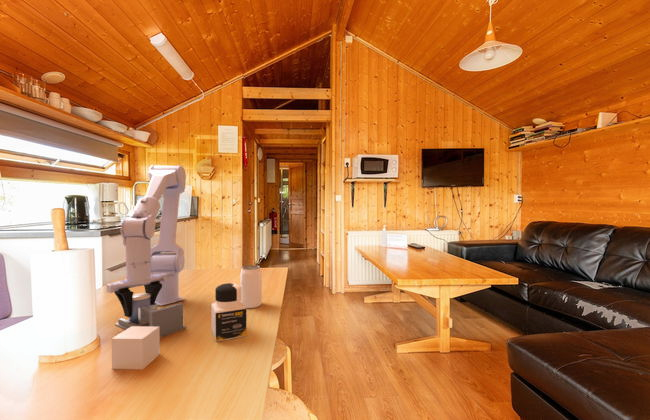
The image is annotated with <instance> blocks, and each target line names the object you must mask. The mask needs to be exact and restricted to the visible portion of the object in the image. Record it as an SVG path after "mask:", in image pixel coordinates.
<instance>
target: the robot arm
mask: <svg viewBox="0 0 650 420" xmlns="http://www.w3.org/2000/svg"><path fill="white" fill-rule="evenodd" d="M147 174H148V179H149V180H148V181H149V185H148V187H147V190H146V194H145V196H142V197H140V198H139V199H138V201H137V203H136V205H135V206H134V209H133V211H132V213H131V215H130V216H129V217H127V218H126V219H124V220H123V221H122V223H121V226H120V228H119V229H120V230H119V231H120V235H121V238H122V241H123V242H122V243H123V247H125V279H122V280H119V281H115V282H112V283H107V284H106V292H107V293H109V294H112V293H113V294H115V296H116V298H117V299H118V300H119V303H120V304H121V307H122V309H123V313H124V317H126V318H129V317H131V315H132V297H133V295H134V291H131V289H133V288H137V287H141V286H143V287H144V293H150V294H151V297H150V303H151V304H154V303H157V304H158V306H161V307H164V306H167V305H170V304H173V303H177V302H182V301H184V300H185V297H182V296H180V292H179V291H180V290H179V285H180V284H179V282H180V281H179V280H180V279H179V273H181V272H182V271H183V270H184V267H185V255H184V253H185V252H184V249H183V248H182V247H181V246H179V244H177V243H176V241H177V227H178V216H179V206H180V205H179V204H180V196H181V194H183V193H185V189H186V182H187V174H186V169H185V168H184V166H182V165H181V164H180V165H161V164H160V165H157V164H151V165H150V167H149V169H148V172H147ZM161 198H162V204H160V202H159V201H160V200H161ZM161 205H162V206H161ZM160 208H161V217H160V226H159V227H160V228H159V235H158V236H159V238H158V243H156V244H155V245H154V246H151V244H152V242H151V241H152V240H151V239H152V238H153V237H154V235H155V232H156V231H155V230H156V224H157V222H156V218H157V216H158V213H159V212H160Z"/></svg>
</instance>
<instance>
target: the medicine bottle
mask: <svg viewBox="0 0 650 420" xmlns="http://www.w3.org/2000/svg"><path fill="white" fill-rule="evenodd" d="M214 289H215V293H214V294H215V296H214V297H215V302H211V304H210V305H211V307H210V308H211V312H210V314H211V316H210V317H211V320H210V321H211V323H210V324H211V326H210V327H211V333H212V336H213V338H214V340H215V342H217V343H218V342H222V341H223V342H224V341H229V340H234V339H239V338H245V337H247V332H248V330H247V325H248V324H247V321H248V320H247V319H248V318H247V315H248V314H247V308H246V306H245V305H244V304H243V303H242V301H241V286H240V284H238V283H232V282H229V283H222V284H220V285H218V286H216V288H214Z"/></svg>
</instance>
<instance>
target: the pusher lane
mask: <svg viewBox="0 0 650 420" xmlns="http://www.w3.org/2000/svg"><path fill="white" fill-rule="evenodd" d="M149 317H150V323H147V324H144V325H141V326H148V327H159V332H160V338H163V337H165V336H168V335H171V334H174V333H176V332H179V331H181V330H184V329H187V326H186V325H184V303H182V302H179V303H175V304H172V305H169V306H165V307H164V306H163V307H161V308H158V309H157V310H154V311H150V312H149ZM117 319H118V322H116V323H115V324H114V325H115V326H116V327H119V328H121V329H123V330H124V331H125V330H126V329H128V328H130V327H131V326H140V325H138V323H133V322H130V321H129V319H125V318H122V317H121V318H120V317H119V318H117Z"/></svg>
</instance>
